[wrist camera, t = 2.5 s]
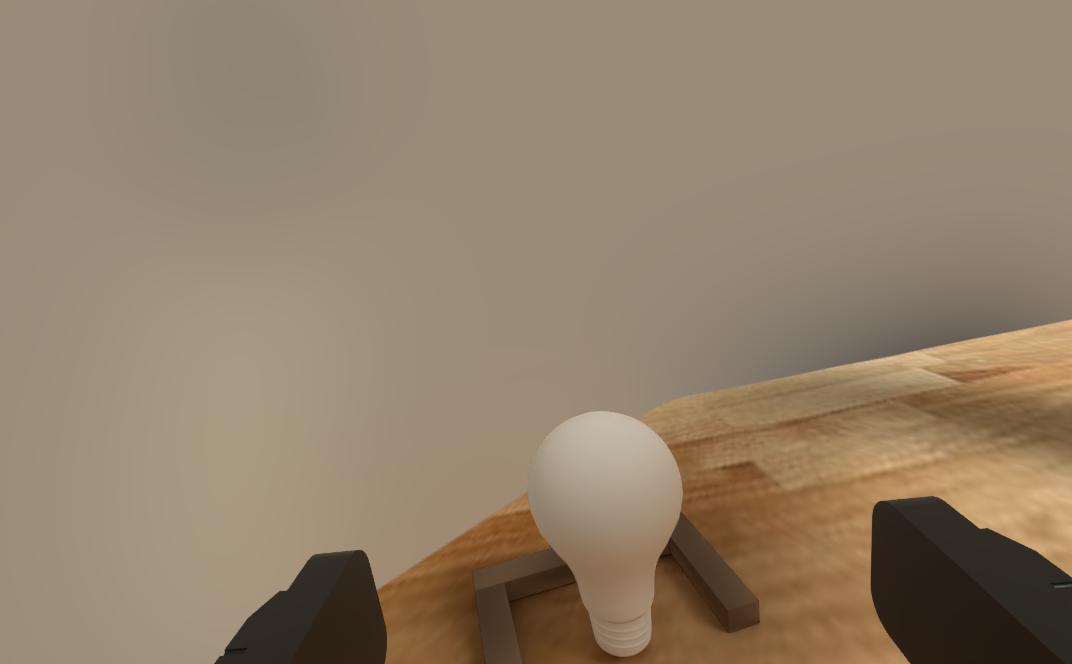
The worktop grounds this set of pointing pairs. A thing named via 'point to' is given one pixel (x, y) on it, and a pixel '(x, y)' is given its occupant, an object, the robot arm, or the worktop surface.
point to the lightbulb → (608, 517)
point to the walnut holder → (551, 571)
